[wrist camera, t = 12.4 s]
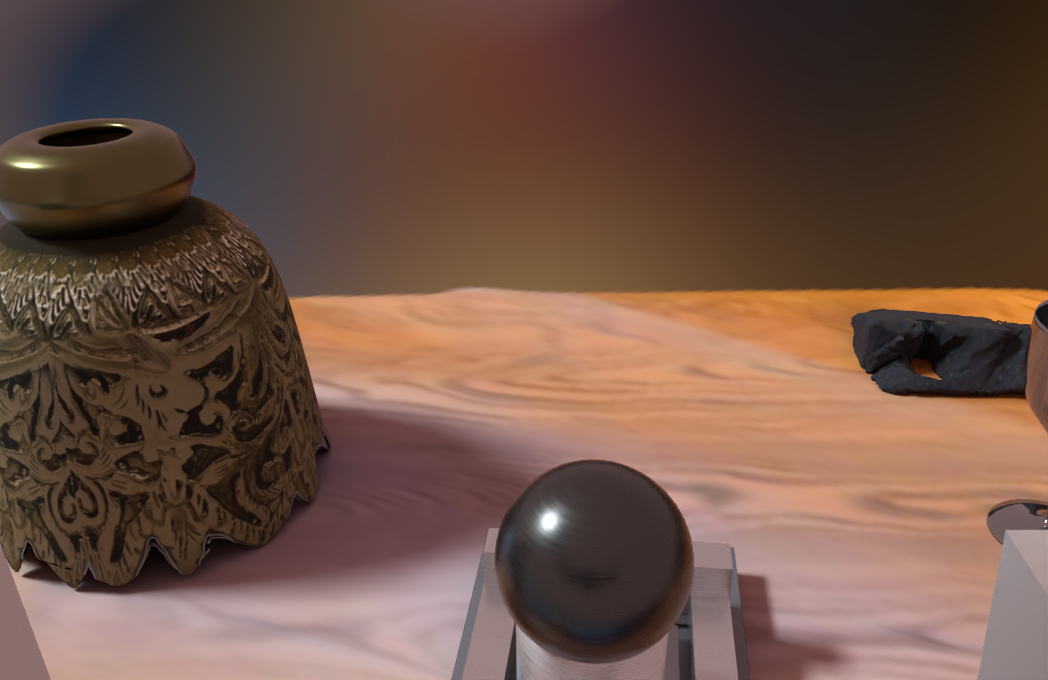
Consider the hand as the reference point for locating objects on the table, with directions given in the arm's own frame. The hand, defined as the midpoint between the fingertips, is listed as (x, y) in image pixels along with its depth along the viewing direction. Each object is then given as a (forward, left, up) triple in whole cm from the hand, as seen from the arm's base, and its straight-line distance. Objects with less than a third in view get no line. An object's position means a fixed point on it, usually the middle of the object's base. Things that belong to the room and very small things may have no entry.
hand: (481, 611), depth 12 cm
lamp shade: (-31, +41, -30) cm, 60 cm away
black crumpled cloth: (+33, +66, -30) cm, 79 cm away
